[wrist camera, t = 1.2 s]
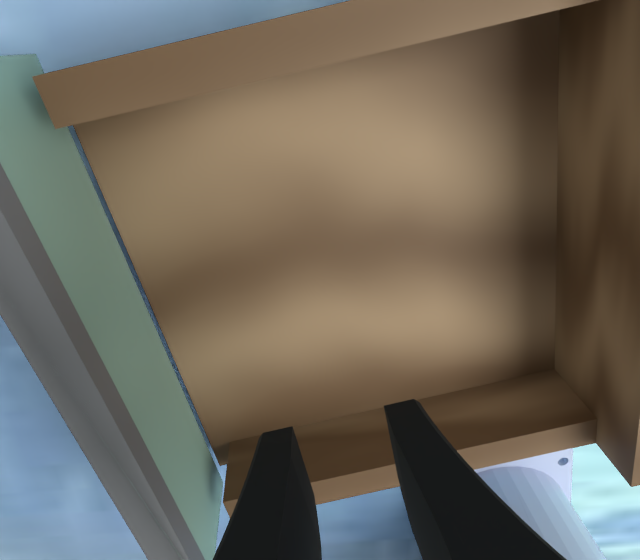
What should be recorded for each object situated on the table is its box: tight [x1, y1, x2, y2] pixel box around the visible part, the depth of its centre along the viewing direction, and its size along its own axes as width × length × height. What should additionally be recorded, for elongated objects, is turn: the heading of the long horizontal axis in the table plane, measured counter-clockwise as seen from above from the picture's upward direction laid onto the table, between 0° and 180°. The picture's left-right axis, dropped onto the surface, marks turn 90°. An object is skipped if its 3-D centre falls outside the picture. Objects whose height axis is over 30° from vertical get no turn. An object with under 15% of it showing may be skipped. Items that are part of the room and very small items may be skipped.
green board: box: [0, 54, 223, 560], centre depth 15 cm, size 17×1×5 cm, turn 12°
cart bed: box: [32, 0, 640, 518], centre depth 15 cm, size 16×16×6 cm
